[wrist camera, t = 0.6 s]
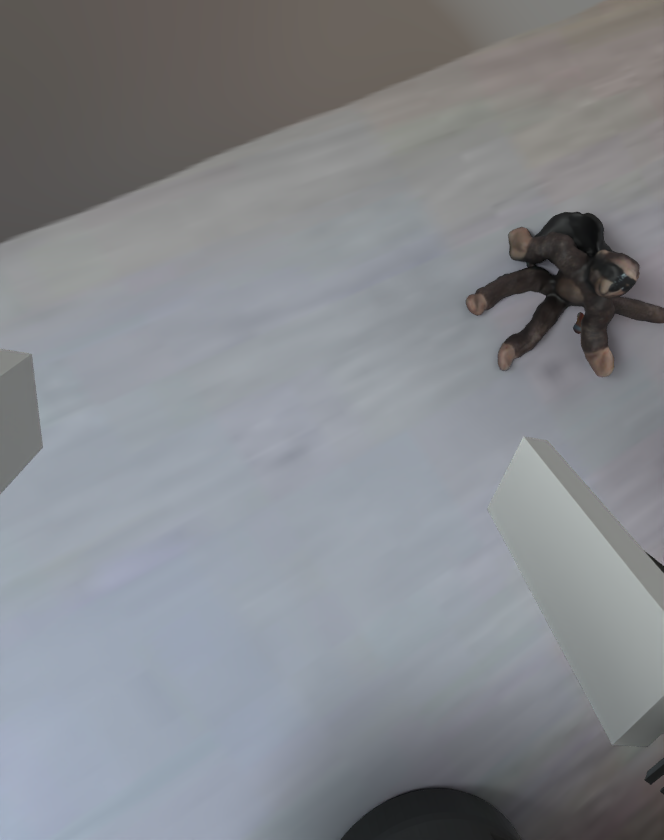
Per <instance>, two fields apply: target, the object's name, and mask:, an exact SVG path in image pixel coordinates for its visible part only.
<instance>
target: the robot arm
mask: <svg viewBox="0 0 664 840" xmlns="http://www.w3.org/2000/svg"><path fill="white" fill-rule="evenodd" d="M42 448H43V444H42V436H41V427H40V419H39V411H38V402H37V394H36V385H35V377H34V369H33V360H32V354H29V353H23V352H17V351H11V350H5V349H0V494H1V493H2V492H3V491H4V490H5V488H6V487H7V486H8V485H9V484H10V483H11V482H12V481H13V480H14V479H15V477H16V476H17V475H18V474H19V473H20V472H21V471H22V470H23V469H24V468H25V466H26V465H27V464H28V463H29V462H30V461H31V460H32V459H33V458H34V457H35V456H36V454H37V453H38V452H39V451H40V450H41V449H42ZM487 510H488V512H489V513H490V515H491V517H492V519H493V521H494V523H495V525H496V527H497V529H498V530H499V532H500V534H501V536H502V538H503V540H504V542H505V544H506V546H507V547H508V549H509V551H510V553H511V555H512V557H513V559H514V561H515V563H516V564H517V566H518V568H519V570H520V572H521V574H522V576H523V578H524V580H525V581H526V583H527V585H528V587H529V589H530V591H531V593H532V595H533V597H534V598H535V600H536V602H537V604H538V606H539V608H540V610H541V612H542V614H543V615H544V617H545V619H546V621H547V623H548V625H549V627H550V629H551V630H552V632H553V634H554V636H555V638H556V640H557V642H558V644H559V646H560V647H561V649H562V651H563V653H564V655H565V657H566V659H567V661H568V663H569V664H570V666H571V668H572V670H573V672H574V674H575V676H576V678H577V680H578V681H579V683H580V685H581V687H582V689H583V691H584V693H585V695H586V697H587V698H588V700H589V702H590V704H591V706H592V708H593V710H594V712H595V714H596V715H597V717H598V719H599V721H600V723H601V725H602V727H603V729H604V731H605V732H606V734H607V736H608V738H609V740H610V742H611V744H612V745H617V746H636V747H648V746H649V745H650V744H651V743H652V742H653V741H655V740H656V739H657V738H658V737H659V736H660V735H661V734H662V733H664V566H663V565H662V564H660V563H659V562H658V561H657V560H655V559H654V558H653V557H652V556H650V555H649V554H648V553H647V552H645V551H644V550H643V549H642V548H641V547H640V546H639V545H638V543H637V542H636V541H635V540H634V539H633V538H632V537H631V535H630V534H629V533H628V532H627V531H626V530H625V529H624V527H623V526H622V525H621V524H620V523H619V522H618V521H617V519H616V518H615V517H614V516H613V515H612V514H611V513H610V511H609V510H608V509H607V508H606V507H605V506H604V505H603V503H602V502H601V501H600V500H599V499H598V498H597V497H596V495H595V494H594V493H593V492H592V491H591V490H590V489H589V487H588V486H587V485H586V484H585V483H584V482H583V481H582V479H581V478H580V477H579V476H578V475H577V474H576V473H575V471H574V470H573V469H572V468H571V467H570V466H569V465H568V463H567V462H566V461H565V460H564V459H563V458H562V457H561V455H560V454H559V453H558V452H557V451H556V450H555V449H554V447H553V446H552V445H551V444H550V443H549V442H548V441H547V440H541V439H535V438H529V437H523V439H522V441H521V443H520V445H519V447H518V449H517V451H516V453H515V455H514V457H513V458H512V460H511V462H510V464H509V466H508V468H507V470H506V472H505V474H504V476H503V478H502V480H501V482H500V484H499V486H498V488H497V490H496V492H495V494H494V496H493V498H492V500H491V502H490V504H489V506H488V508H487ZM662 775H664V758H663V759H662V760H660V761H659V762H658V763H657V764H656V765H655V766H653V767H652V768H651V769H650V770H649V771H648V772H647V775H646V777H645V781H646V782H648V783H649V784H650V785H651V784H652V783H654V782H655V781H656V780H657V779H659V778H660V777H661V776H662ZM660 792H661V793H663V794H664V787H663V788H662V789H661V790H660ZM341 840H521V838H520V837H519V835H518V833H517V832H516V830H515V829H514V827H513V826H512V825H511V824H510V822H509V821H508V820H507V819H506V818H505V817H504V816H503V815H502V814H501V813H500V812H499V811H498V810H497V809H495V808H494V807H493V806H491V805H490V804H488V803H487V802H485V801H483V800H481V799H480V798H478V797H475V796H473V795H470V794H467V793H464V792H460V791H455V790H448V789H427V790H420V791H414V792H410V793H407V794H404V795H401V796H398V797H396V798H393V799H391V800H389V801H387V802H385V803H383V804H381V805H380V806H378V807H376V808H375V809H373V810H372V811H370V812H369V813H368V814H366V815H365V816H364V817H363V818H361V819H360V820H359V821H358V822H357V823H356V824H355V825H354V826H353V827H352V828H351V829H350V830H349V831H348V832H347V833H346V834H345V835H344V837H343V838H342V839H341Z"/></svg>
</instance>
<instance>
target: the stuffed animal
mask: <svg viewBox="0 0 664 840" xmlns="http://www.w3.org/2000/svg"><path fill="white" fill-rule="evenodd" d="M603 231H604V228H603V224H602V222H601V221H600V220H599V219H598V218H597V217H596V216H595V215H593V214H590V213H586V214H581V213H580V212H574V213H570V212H564V213H561V214H558V215H555V216H554V217H552V218H551V219H550V220H549V221H548V223H547V224H546V225H545V226H544V227H543V229H542V230H541V231H540V232H539V233H538V234H537V235H535V236H534V238H532V236H531V235H530V233H529V231H528V229H526V228H523V227H520V228H517V229H514V230H512V231H511V232H510V233H509V234H508V238H509V244H510V251H509V254H510V257H511V258H512V259H513V260H518V261H524V262H526V263H527V267H528V268H525V269H522V270H519V271H516V272H513V273H510V274H504V275H503V276H500V277H499V278H497V279H496V280H495V281H493V282H491V283H489V284H488V285H486V286H485V287H482V288H480V289H478V290H477V291H476V293H475V294H472V295H469V296H468V298H467V299H466V305H467V308H468V309H469V311H470V312H471V313H473V314H475V315H477V316H478V315H481V314H482V313H483V311H484V310H488V309H490V308H492V307H493V306H494V305H495V304H496V303H497V302H499V301H500V300H501V299H503V298H505V297H508V296H511V295H513V294H520V293H524V292H527V291H534V292H539V293H542V294H544V295H546V298H545V300H544V301H543V302H542V303H541V304H540V305H539V306H538V307H537V309H536V311H535V313H534V314H533V318H532V320H531V321H530V322H529V323H528V324H527V325H526V327H525V328H524V329H523V330H522V331H521V332H519V333H517V334H513V335H511V336H510V337H509V338H507V339H506V341H505V342H504V343H503V344H502V346H501V348H500V349H499V352H498V365H499V367H500V369H501V370H502V371H506V370H508V369H509V367H510V365H511V363H512V361H513V360H514V359H516V358H519V357H521V356H522V355H523V354H525V353H526V352H528V351H530V350H532V349H533V348H534V347H535V346H536V344H537V343H538V342H539V341H540V340H541V339H542V337H543V336H544V335H545V334H546V333H547V332H548V330H549V329H550V328H551V327H552V326H553V325H554V324H555V323H556V321H557V320H558V318H559V317H560V315H561V314H562V313H563V312H564V310H565V309H566V308H567V307H568V306H571V305H572V306H583V307H584V309H585V315H583V313H581V312H580V313H578V315H577V317H578V318H577V322H576V324H575V325H574V327H573V329H574V331H575V333H578V334H580V333H581V346H582V349H583V351H584V354H585V357H586V359H587V361H588V362H589V364H590V366H591V368H592V369H593V370H594V372H595V373H596V375H597V376H599V377H606V376H609V375H610V374H611V373H612V371H613V369H614V357H613V355H612V353H611V351H610V349H609V347H608V335H607V326H608V324H609V322H610V321H611V319H612V318H613V316H614V314H619V315H623V316H626V317H629V318H632V319H635V320H640V321H648V322H652V323H664V308H662V307H659V306H654V305H652V304H648V303H645V302H642V301H638V300H634V299H629V298H623V297H619V296H621V295H624V294H625V293H627V292H628V291H629V290H630V289H631V288H632V287H633V286H634V284H635V283H636V280H637V279H638V277H639V264H638V263H637V262H636V261H635V260H634V259H632V258H630V257H629V256H627V255H625V254H623V253H616V252H614V251H612V250H611V248H610V247H609V246H608V245H607V244H606V243H605V241H604V236H603ZM546 259H548V260H549V261H550V262H552V263H553V264H555V266H556V267H557V268H558V269H559V271H558V273H557V275H550V274H549V272H548V271H546V270H545V269H543V268H540V267H536V266H535V264H537V263H541V262H543V261H544V260H546Z"/></svg>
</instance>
